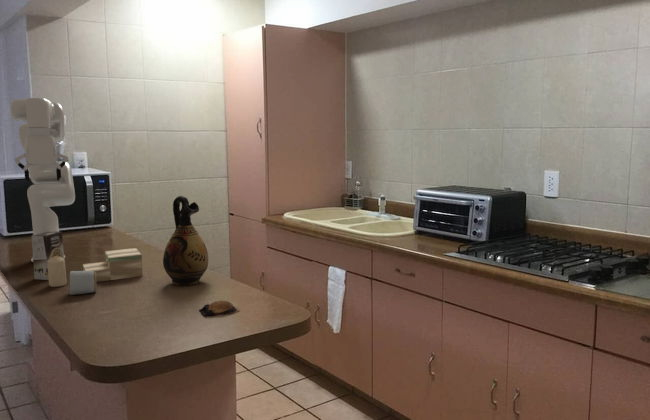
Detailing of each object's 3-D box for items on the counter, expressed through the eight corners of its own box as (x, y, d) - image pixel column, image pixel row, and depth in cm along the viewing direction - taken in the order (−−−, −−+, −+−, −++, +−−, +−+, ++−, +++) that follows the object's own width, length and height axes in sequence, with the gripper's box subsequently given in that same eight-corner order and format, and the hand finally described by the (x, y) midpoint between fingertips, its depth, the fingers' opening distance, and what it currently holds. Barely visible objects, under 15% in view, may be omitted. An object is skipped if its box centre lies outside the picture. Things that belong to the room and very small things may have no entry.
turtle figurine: (231, 306, 173) (231, 294, 173) (241, 314, 166) (240, 301, 166) (196, 312, 168) (196, 299, 168) (205, 320, 161) (204, 307, 161)
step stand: (83, 274, 211) (82, 253, 210) (137, 268, 219) (135, 248, 218) (86, 283, 199) (84, 260, 198) (142, 276, 207) (141, 254, 206)
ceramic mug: (97, 294, 185) (96, 271, 184) (70, 297, 182) (68, 274, 181) (96, 286, 195) (95, 264, 194) (70, 289, 192) (69, 267, 191)
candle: (52, 282, 200) (50, 255, 198) (69, 282, 200) (66, 254, 199) (46, 287, 194) (44, 258, 193) (63, 286, 195) (61, 258, 193)
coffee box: (49, 280, 204) (46, 235, 201) (34, 279, 205) (30, 235, 202) (66, 273, 212) (62, 231, 210) (51, 273, 214) (47, 230, 211)
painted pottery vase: (218, 281, 199) (215, 196, 195) (180, 291, 188) (175, 201, 184) (190, 273, 211) (186, 192, 206) (153, 282, 200) (148, 197, 195)
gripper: (65, 133, 211) (69, 179, 213) (12, 133, 203) (16, 181, 205) (66, 132, 204) (70, 180, 206) (11, 133, 196) (16, 182, 198)
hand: (43, 180), depth 205 cm, fingers open, 9 cm apart
